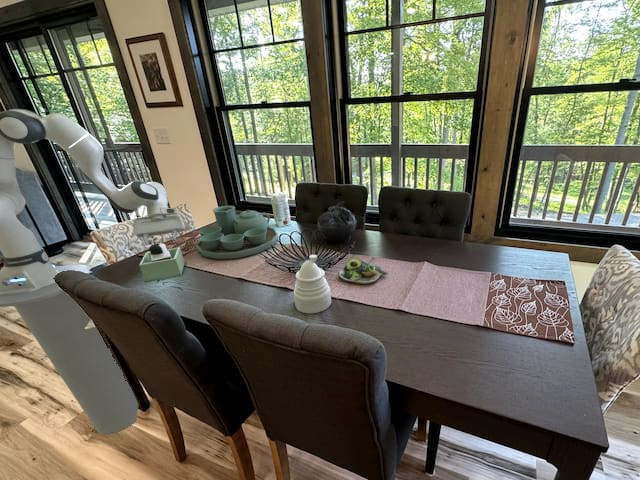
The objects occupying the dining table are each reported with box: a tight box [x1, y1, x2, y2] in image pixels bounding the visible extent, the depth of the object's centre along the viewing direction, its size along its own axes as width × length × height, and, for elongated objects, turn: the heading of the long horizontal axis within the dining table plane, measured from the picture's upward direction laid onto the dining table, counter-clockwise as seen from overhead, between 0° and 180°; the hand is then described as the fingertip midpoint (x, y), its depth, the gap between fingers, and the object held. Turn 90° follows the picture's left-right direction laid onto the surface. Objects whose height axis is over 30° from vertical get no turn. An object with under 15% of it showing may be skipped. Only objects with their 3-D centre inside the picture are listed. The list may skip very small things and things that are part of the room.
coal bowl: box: [317, 201, 357, 242], centre depth 160 cm, size 20×20×19 cm
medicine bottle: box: [148, 242, 172, 262], centre depth 136 cm, size 7×7×12 cm
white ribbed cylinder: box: [270, 191, 292, 228], centre depth 185 cm, size 8×9×19 cm
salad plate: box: [338, 257, 389, 285], centre depth 128 cm, size 19×18×5 cm
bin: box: [138, 246, 186, 282], centre depth 137 cm, size 14×14×8 cm
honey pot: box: [293, 254, 332, 314], centre depth 108 cm, size 13×13×18 cm
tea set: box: [195, 205, 279, 260], centre depth 160 cm, size 40×40×16 cm
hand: (161, 242), depth 141 cm, fingers open, 8 cm apart
